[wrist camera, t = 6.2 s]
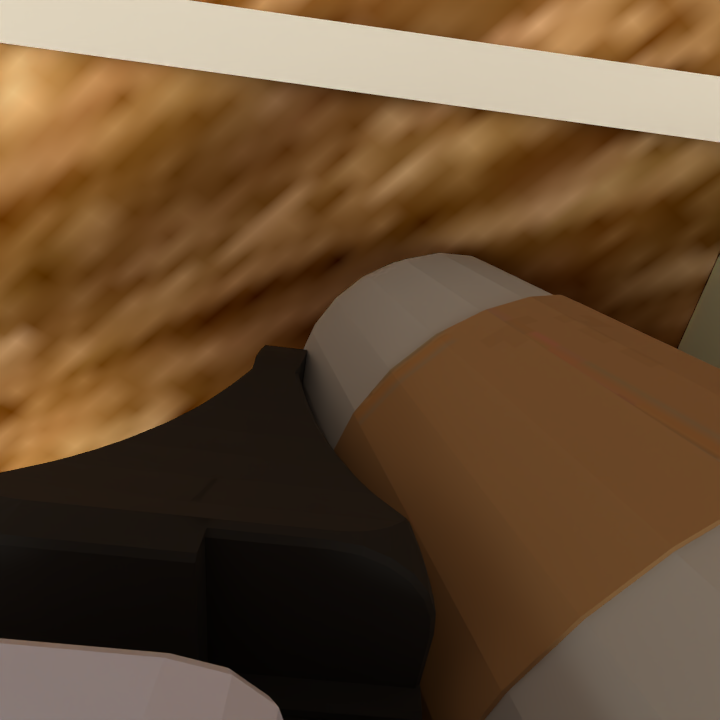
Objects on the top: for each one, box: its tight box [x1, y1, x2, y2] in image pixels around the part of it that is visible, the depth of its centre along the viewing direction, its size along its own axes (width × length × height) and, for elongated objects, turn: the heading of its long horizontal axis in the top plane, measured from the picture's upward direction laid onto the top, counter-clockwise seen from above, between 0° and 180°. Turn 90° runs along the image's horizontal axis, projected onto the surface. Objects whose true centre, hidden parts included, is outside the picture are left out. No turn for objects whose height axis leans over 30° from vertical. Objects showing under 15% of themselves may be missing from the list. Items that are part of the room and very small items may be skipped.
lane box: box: [0, 0, 720, 142], centre depth 13 cm, size 14×28×2 cm, turn 83°
